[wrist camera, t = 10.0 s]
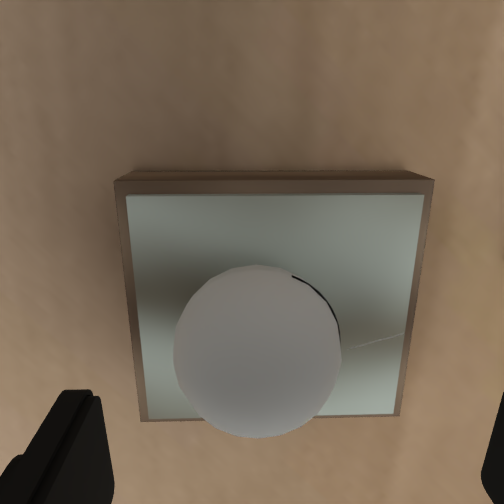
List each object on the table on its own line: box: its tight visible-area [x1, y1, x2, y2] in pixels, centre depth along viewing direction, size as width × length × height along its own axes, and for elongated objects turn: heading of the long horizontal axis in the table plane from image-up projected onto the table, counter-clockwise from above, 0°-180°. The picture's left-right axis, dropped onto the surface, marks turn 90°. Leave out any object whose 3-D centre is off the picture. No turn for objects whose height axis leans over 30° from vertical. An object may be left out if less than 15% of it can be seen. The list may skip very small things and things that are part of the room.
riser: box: [114, 171, 435, 422], centre depth 18 cm, size 11×12×3 cm
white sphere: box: [173, 264, 404, 438], centre depth 14 cm, size 8×6×6 cm
